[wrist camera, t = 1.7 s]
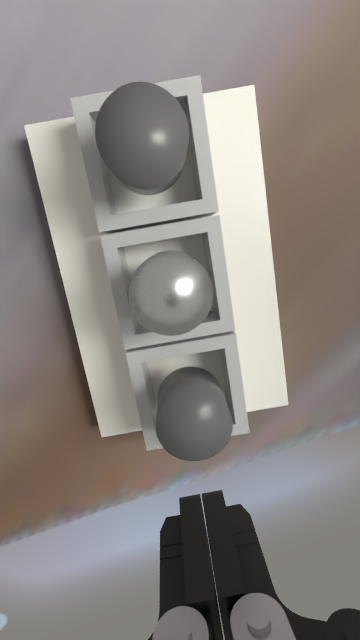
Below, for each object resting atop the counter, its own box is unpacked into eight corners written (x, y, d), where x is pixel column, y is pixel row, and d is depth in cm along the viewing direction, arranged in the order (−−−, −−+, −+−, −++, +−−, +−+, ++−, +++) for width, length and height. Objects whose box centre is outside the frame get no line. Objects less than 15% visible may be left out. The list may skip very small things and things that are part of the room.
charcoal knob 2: (217, 361, 21) (227, 384, 17) (226, 420, 22) (237, 453, 18) (152, 372, 21) (149, 398, 17) (164, 431, 22) (163, 466, 18)
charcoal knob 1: (178, 106, 18) (180, 74, 14) (190, 188, 18) (196, 176, 15) (101, 120, 18) (85, 91, 14) (117, 201, 18) (106, 191, 15)
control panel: (246, 98, 22) (268, 58, 18) (279, 393, 27) (304, 426, 22) (36, 135, 22) (0, 105, 18) (106, 423, 27) (93, 462, 22)
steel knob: (199, 244, 19) (206, 245, 16) (209, 313, 20) (218, 328, 17) (128, 256, 19) (120, 259, 16) (142, 325, 20) (137, 342, 17)
